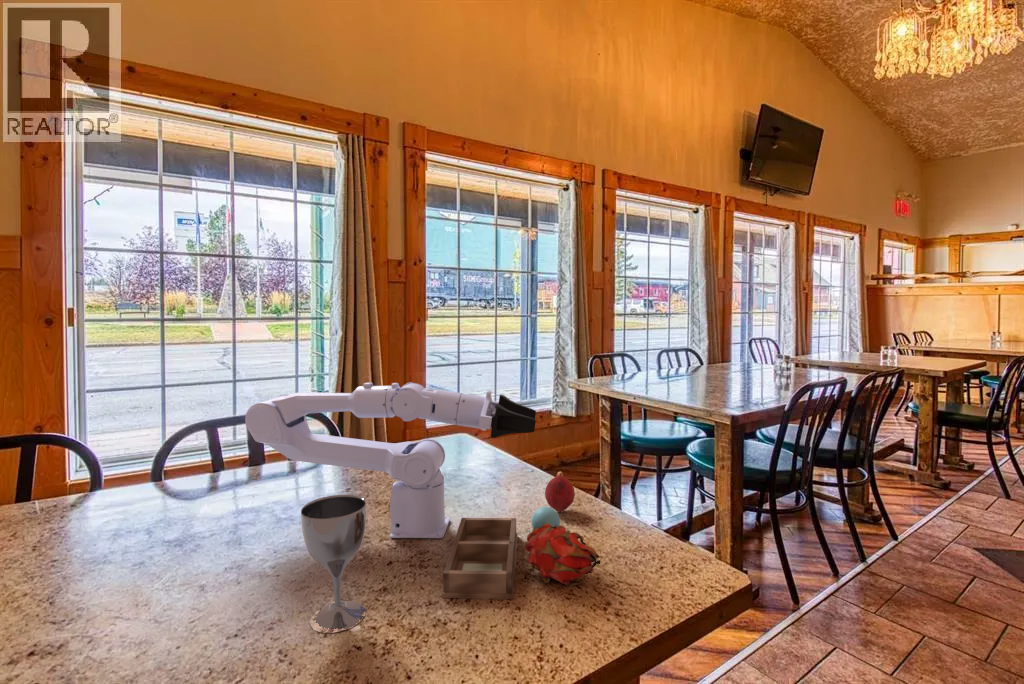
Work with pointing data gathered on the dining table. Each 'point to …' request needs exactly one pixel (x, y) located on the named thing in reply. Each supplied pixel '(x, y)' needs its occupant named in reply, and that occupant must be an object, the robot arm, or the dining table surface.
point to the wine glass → (335, 549)
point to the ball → (545, 517)
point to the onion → (559, 493)
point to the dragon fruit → (559, 554)
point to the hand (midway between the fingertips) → (535, 421)
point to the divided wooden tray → (482, 559)
